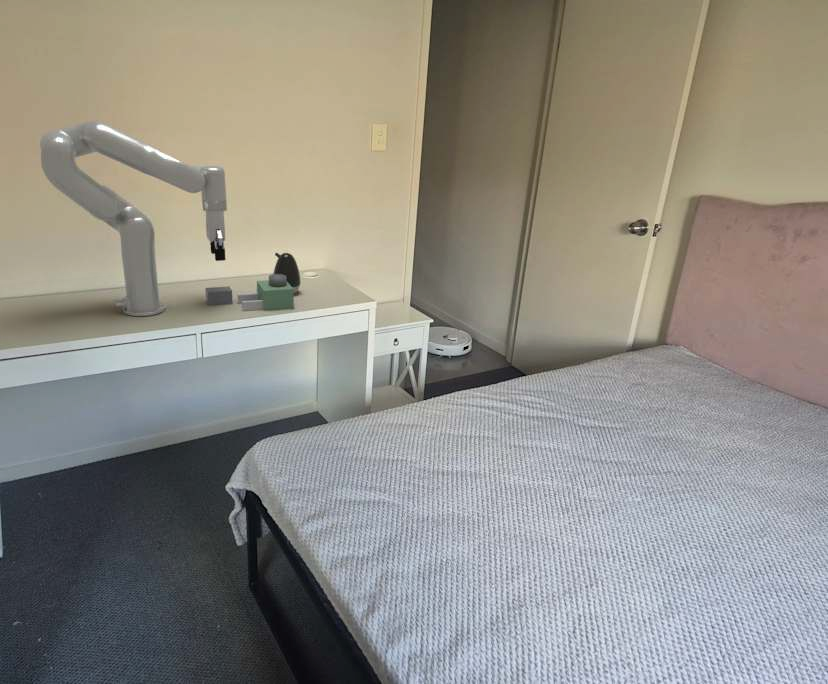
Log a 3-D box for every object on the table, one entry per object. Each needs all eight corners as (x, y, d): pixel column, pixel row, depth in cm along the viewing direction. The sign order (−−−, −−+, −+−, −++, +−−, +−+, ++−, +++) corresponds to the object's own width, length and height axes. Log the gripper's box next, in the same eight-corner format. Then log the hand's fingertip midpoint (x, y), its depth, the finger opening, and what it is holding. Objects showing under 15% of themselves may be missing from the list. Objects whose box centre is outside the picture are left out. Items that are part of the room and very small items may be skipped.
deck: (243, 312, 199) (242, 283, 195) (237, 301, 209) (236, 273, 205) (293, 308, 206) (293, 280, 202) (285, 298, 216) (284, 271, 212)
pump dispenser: (285, 287, 228) (285, 248, 223) (306, 292, 223) (306, 253, 218) (266, 292, 220) (265, 252, 214) (287, 298, 215) (287, 257, 210)
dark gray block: (208, 306, 202) (207, 292, 201) (206, 301, 207) (205, 287, 205) (232, 304, 206) (232, 290, 204) (229, 299, 210) (229, 286, 208)
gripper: (199, 201, 200) (203, 251, 206) (206, 210, 185) (210, 264, 192) (222, 201, 203) (225, 250, 209) (230, 210, 188) (234, 262, 195)
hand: (218, 256), depth 200 cm, fingers open, 9 cm apart
